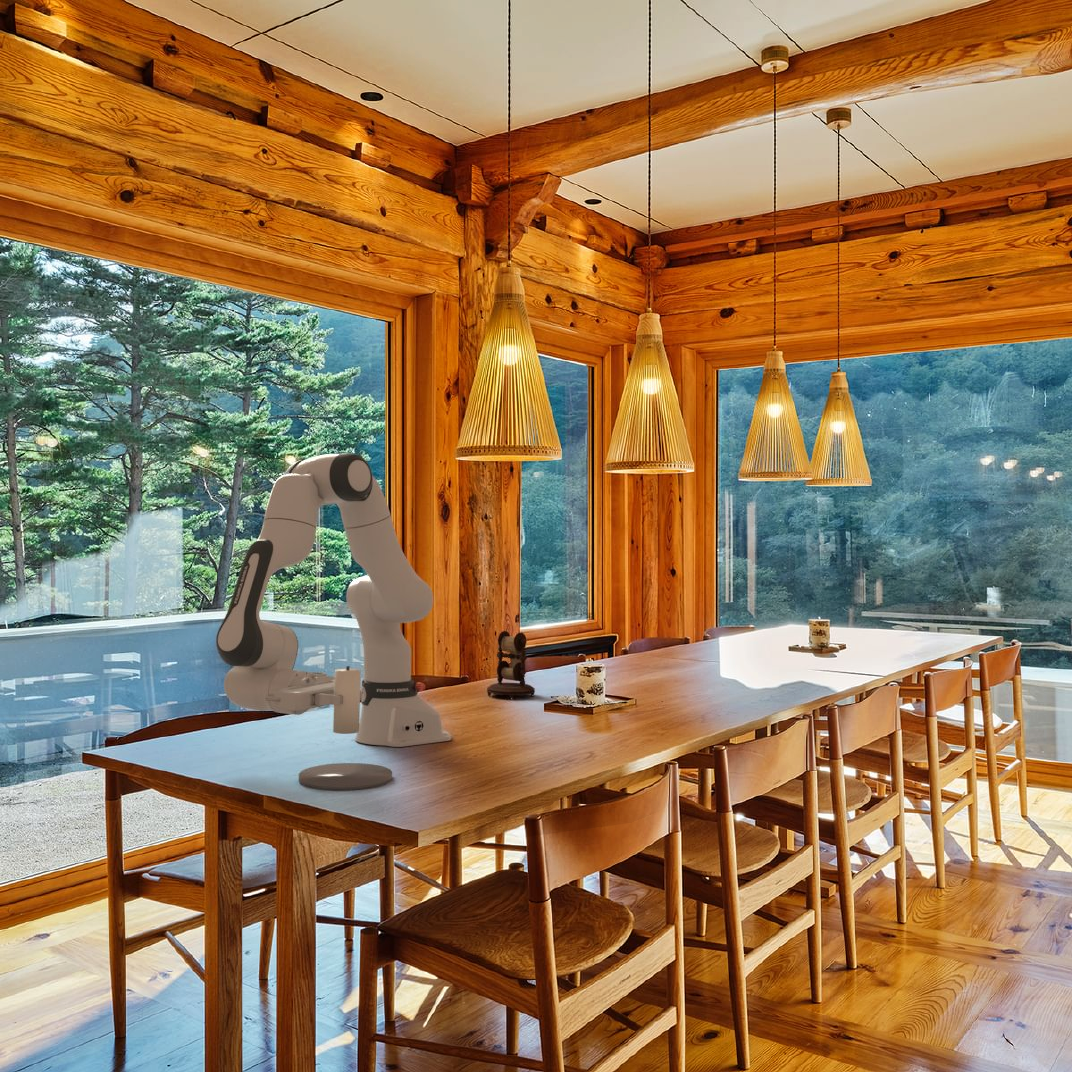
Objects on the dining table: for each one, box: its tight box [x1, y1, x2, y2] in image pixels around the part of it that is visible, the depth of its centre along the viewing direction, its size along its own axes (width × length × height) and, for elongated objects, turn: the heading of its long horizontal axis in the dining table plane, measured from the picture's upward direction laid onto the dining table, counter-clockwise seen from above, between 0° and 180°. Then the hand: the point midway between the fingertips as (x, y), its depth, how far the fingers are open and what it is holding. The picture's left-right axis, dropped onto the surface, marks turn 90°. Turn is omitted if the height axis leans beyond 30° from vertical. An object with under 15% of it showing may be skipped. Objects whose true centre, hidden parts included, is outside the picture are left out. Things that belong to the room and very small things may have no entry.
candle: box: [332, 665, 362, 735], centre depth 194 cm, size 5×5×13 cm
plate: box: [298, 762, 393, 792], centre depth 194 cm, size 18×18×1 cm
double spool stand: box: [486, 630, 536, 699], centre depth 306 cm, size 15×15×20 cm
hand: (350, 698), depth 194 cm, fingers closed on candle, 5 cm apart
